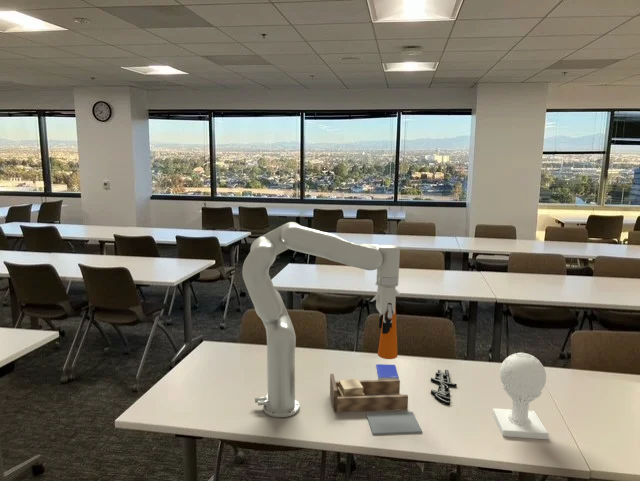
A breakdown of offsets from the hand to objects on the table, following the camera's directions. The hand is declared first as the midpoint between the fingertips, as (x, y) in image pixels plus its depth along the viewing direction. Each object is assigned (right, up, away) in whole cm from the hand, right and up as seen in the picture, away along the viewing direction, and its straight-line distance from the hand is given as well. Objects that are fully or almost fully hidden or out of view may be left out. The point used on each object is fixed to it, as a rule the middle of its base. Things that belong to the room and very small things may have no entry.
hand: (385, 330), depth 166 cm
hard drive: (+5, -24, +27) cm, 37 cm away
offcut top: (-12, -22, +3) cm, 25 cm away
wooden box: (-6, -27, +4) cm, 27 cm away
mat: (+1, -29, -10) cm, 31 cm away
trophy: (+43, -30, -11) cm, 53 cm away
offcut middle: (-12, -25, +3) cm, 28 cm away
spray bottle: (-1, -9, +2) cm, 9 cm away
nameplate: (+25, -26, +15) cm, 39 cm away
